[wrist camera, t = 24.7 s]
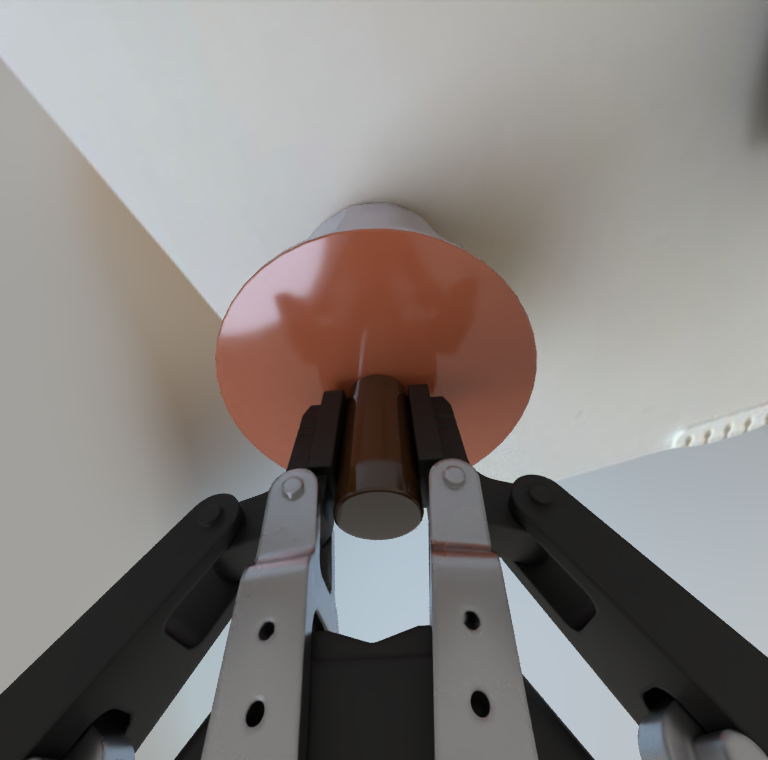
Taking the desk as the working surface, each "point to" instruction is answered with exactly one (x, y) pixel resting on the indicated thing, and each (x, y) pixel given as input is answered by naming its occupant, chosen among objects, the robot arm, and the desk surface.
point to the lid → (375, 359)
